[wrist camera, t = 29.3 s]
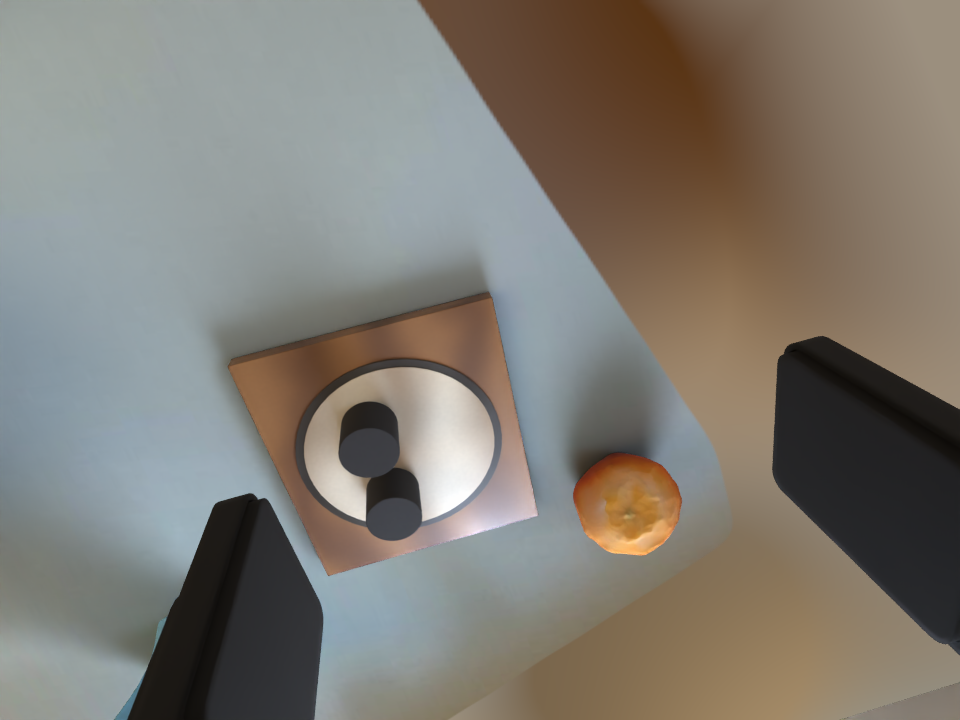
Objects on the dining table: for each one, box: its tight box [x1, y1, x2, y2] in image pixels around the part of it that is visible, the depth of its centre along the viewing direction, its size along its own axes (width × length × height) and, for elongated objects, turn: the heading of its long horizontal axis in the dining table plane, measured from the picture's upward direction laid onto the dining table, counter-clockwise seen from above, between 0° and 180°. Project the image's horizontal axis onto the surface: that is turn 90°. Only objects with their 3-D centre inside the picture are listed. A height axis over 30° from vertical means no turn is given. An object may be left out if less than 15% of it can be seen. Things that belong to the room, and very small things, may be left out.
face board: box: [228, 292, 538, 576], centre depth 42 cm, size 18×20×1 cm
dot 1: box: [338, 401, 400, 478], centre depth 38 cm, size 4×4×4 cm
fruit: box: [573, 452, 682, 555], centre depth 45 cm, size 8×8×8 cm
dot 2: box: [366, 468, 422, 541], centre depth 41 cm, size 4×4×4 cm
